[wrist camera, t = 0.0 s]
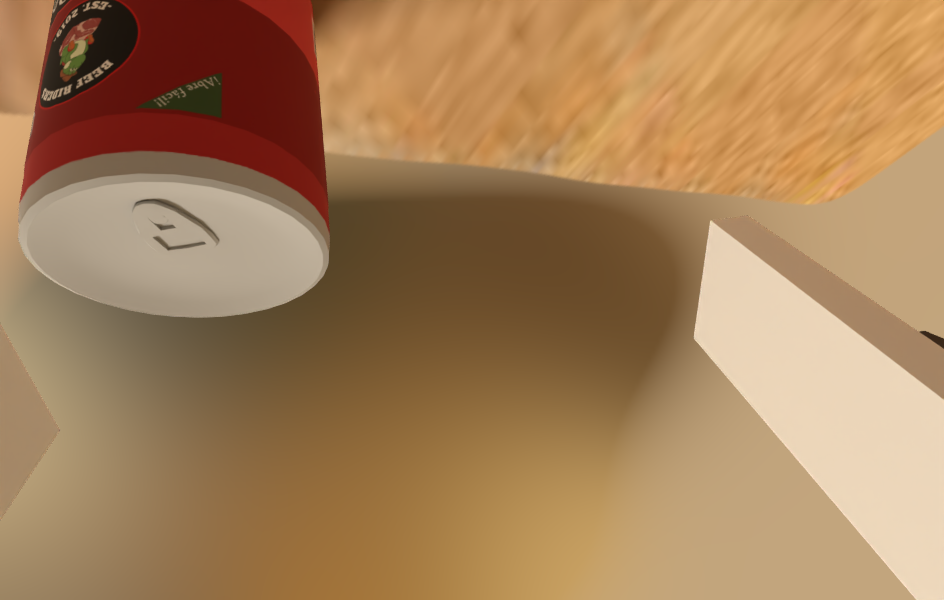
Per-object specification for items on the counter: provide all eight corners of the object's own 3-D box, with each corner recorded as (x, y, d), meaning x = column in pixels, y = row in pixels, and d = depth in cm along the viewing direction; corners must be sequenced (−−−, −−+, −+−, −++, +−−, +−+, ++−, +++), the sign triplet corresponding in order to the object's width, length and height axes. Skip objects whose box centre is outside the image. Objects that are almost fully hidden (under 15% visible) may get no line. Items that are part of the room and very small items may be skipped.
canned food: (211, -184, 16) (202, 132, 12) (352, 31, 23) (379, 278, 19) (0, -70, 18) (-75, 241, 14) (191, 97, 25) (182, 338, 21)
